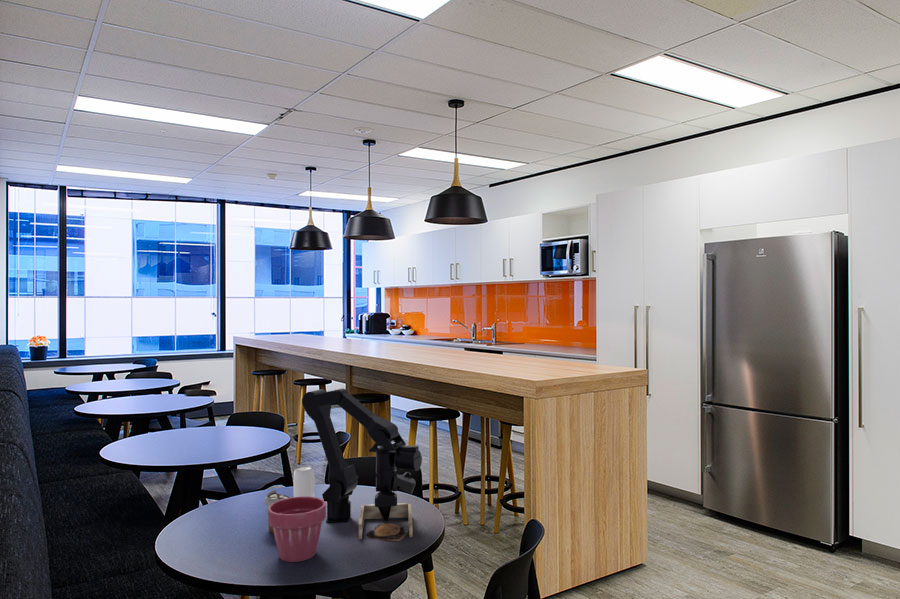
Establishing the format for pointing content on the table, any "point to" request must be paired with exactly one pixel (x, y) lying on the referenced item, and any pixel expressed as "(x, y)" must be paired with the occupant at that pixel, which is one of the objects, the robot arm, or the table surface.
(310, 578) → the table surface
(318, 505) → the plant pot
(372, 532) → the bread roll
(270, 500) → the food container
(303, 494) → the can
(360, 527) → the frame
